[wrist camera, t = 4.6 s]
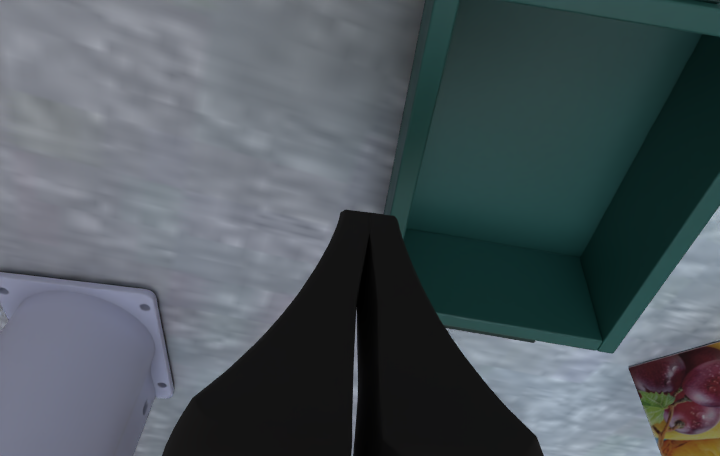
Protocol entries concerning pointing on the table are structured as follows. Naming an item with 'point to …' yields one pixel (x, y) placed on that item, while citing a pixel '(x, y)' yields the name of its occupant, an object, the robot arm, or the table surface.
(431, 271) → the teal open crate
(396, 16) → the table surface
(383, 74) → the table surface
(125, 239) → the table surface
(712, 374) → the juice carton
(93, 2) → the table surface
